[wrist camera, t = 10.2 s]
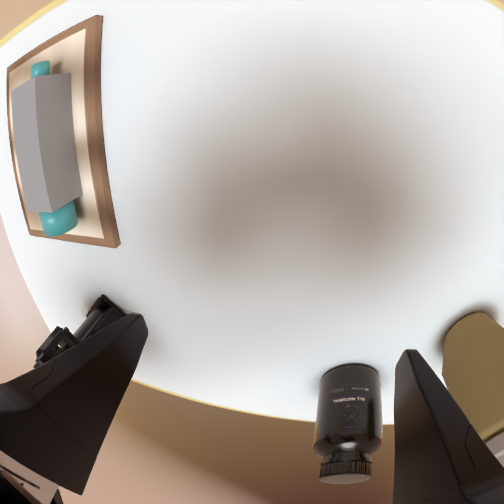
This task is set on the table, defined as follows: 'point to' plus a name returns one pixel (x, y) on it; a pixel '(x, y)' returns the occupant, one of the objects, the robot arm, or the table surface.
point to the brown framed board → (75, 129)
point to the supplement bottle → (348, 424)
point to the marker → (47, 148)
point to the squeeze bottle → (478, 376)
